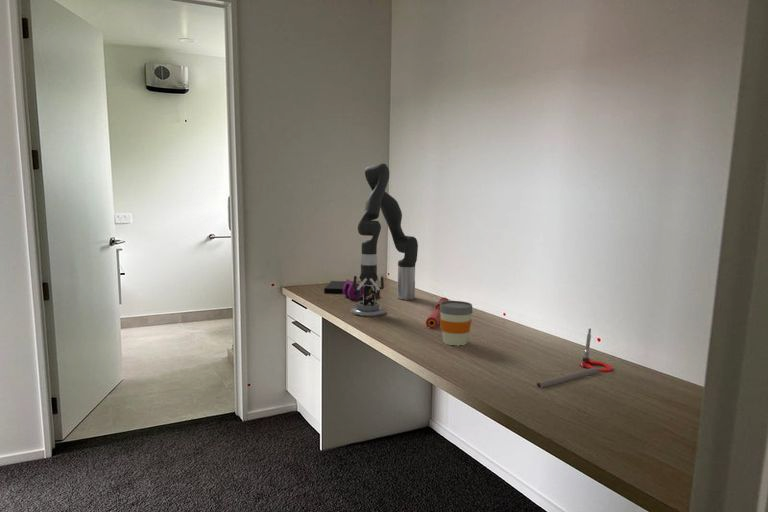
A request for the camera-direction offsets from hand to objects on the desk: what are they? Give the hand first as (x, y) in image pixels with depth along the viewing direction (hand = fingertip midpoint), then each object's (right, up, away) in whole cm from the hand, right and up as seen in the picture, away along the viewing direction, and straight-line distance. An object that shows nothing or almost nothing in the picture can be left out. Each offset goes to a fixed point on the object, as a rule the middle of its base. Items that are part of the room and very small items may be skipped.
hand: (368, 297), depth 243 cm
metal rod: (+65, -20, -80) cm, 105 cm away
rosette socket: (0, -7, +1) cm, 7 cm away
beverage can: (0, -6, +1) cm, 6 cm away
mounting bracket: (-4, -3, +35) cm, 35 cm away
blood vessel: (+32, -9, -4) cm, 34 cm away
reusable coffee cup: (+34, -14, -44) cm, 57 cm away
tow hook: (+79, -18, -69) cm, 106 cm away
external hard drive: (-18, 0, +55) cm, 57 cm away
